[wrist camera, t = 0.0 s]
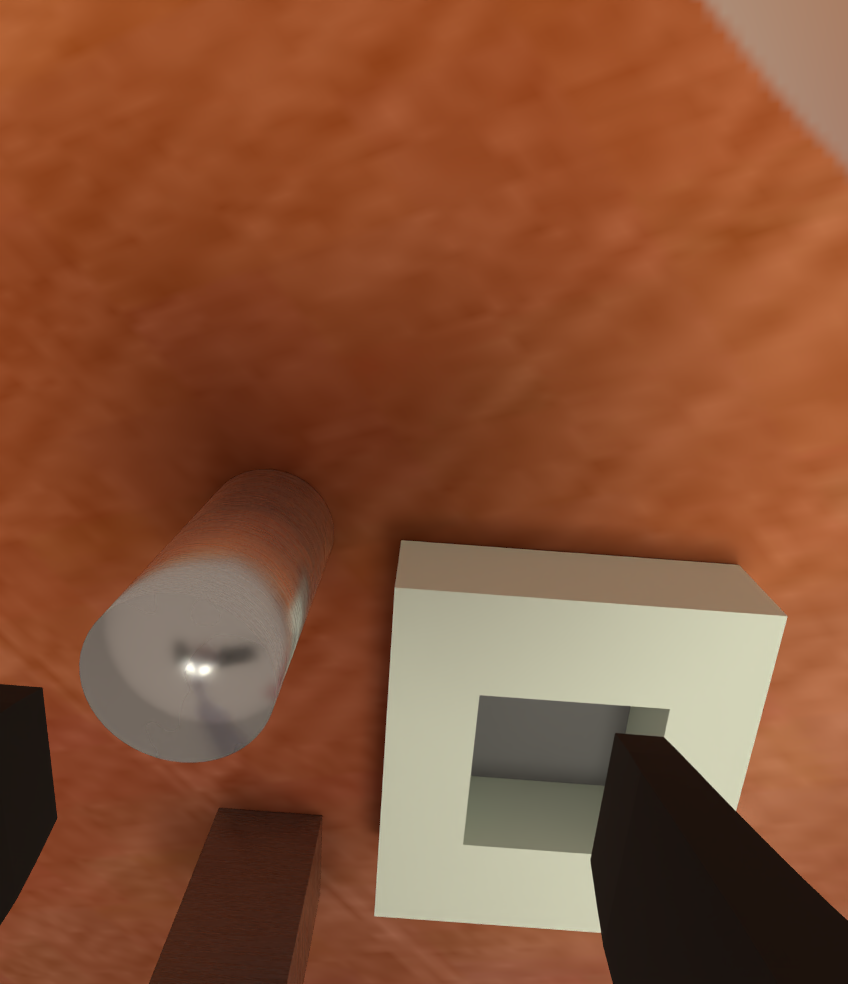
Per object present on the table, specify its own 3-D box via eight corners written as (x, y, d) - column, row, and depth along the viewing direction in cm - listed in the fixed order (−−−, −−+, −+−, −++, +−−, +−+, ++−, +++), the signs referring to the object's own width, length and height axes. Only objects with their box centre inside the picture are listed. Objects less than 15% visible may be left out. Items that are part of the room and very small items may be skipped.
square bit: (319, 894, 23) (270, 1155, 16) (221, 887, 23) (132, 1145, 16) (322, 815, 22) (270, 1060, 15) (218, 808, 22) (122, 1049, 15)
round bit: (331, 592, 19) (275, 768, 13) (208, 583, 19) (87, 755, 13) (335, 473, 18) (276, 600, 12) (204, 464, 18) (70, 585, 12)
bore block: (670, 857, 22) (701, 940, 19) (382, 836, 22) (374, 916, 19) (738, 564, 19) (787, 616, 16) (401, 540, 19) (394, 587, 16)
